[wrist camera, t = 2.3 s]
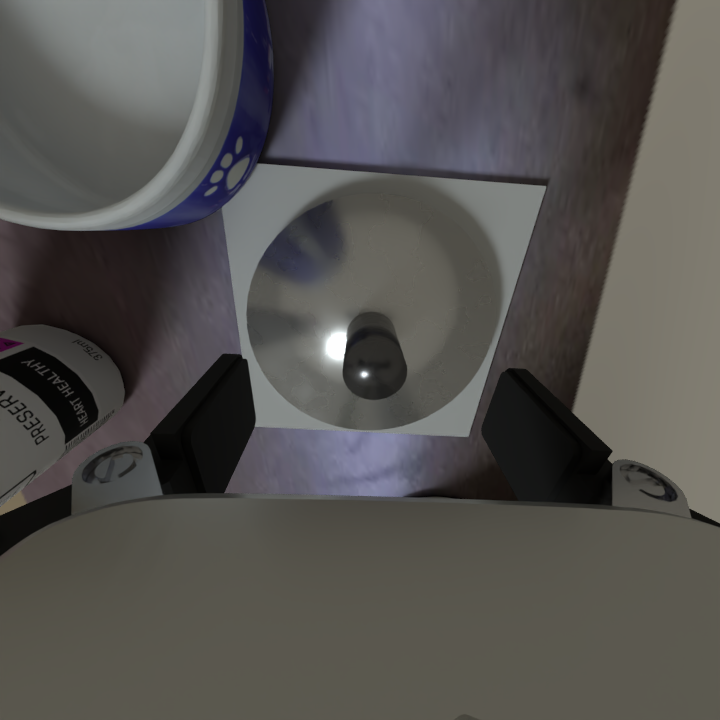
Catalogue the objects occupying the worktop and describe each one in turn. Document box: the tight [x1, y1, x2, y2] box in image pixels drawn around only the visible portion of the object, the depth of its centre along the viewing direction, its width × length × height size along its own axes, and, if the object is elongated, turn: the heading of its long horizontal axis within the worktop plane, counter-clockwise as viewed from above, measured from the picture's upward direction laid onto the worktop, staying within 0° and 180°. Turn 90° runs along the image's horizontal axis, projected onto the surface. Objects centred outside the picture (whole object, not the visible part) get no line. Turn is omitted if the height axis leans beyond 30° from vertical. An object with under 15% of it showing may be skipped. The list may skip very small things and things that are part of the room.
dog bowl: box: [0, 0, 274, 231], centre depth 10 cm, size 15×15×6 cm
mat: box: [222, 163, 546, 437], centre depth 19 cm, size 18×18×1 cm
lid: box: [246, 193, 496, 430], centre depth 16 cm, size 16×16×6 cm
